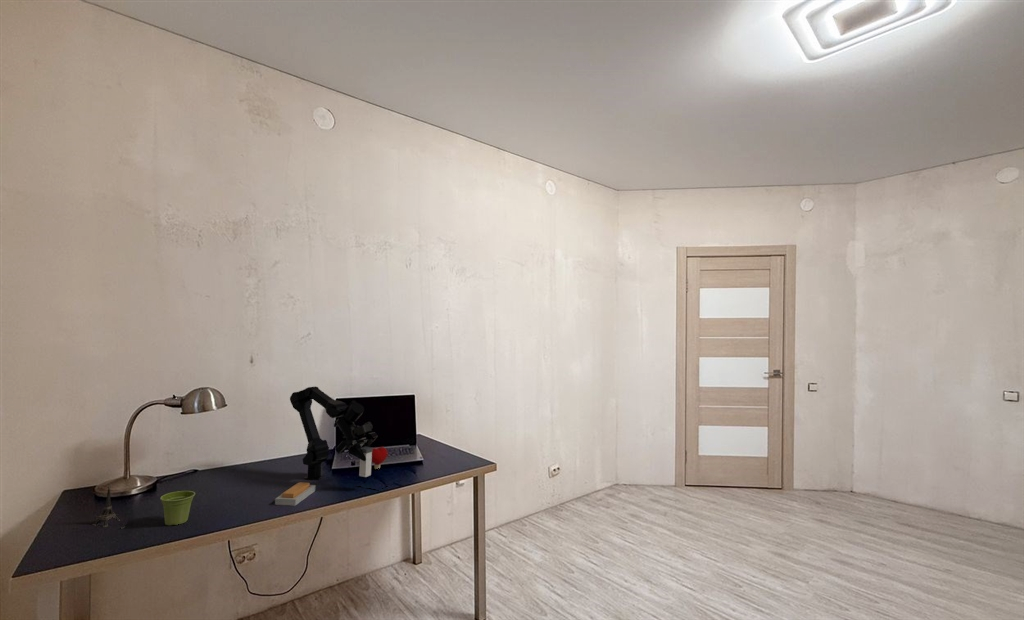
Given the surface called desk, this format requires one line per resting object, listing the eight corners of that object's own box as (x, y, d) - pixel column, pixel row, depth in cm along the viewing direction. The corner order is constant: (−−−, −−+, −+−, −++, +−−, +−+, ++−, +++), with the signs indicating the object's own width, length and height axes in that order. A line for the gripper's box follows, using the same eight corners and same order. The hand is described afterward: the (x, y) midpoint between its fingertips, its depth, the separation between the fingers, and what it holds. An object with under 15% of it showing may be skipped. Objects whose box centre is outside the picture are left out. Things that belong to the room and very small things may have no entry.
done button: (298, 486, 187) (299, 482, 187) (309, 487, 187) (309, 482, 187) (282, 498, 174) (282, 493, 174) (293, 498, 174) (293, 493, 174)
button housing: (296, 489, 189) (296, 484, 189) (315, 490, 188) (315, 485, 188) (274, 504, 173) (275, 498, 173) (295, 505, 172) (295, 499, 172)
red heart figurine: (382, 466, 224) (383, 444, 224) (390, 469, 218) (390, 447, 219) (364, 469, 217) (365, 447, 218) (371, 473, 212) (372, 451, 212)
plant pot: (181, 514, 162) (183, 488, 162) (200, 519, 158) (201, 493, 158) (152, 524, 153) (153, 497, 153) (170, 530, 149) (172, 502, 150)
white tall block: (358, 475, 190) (359, 448, 190) (364, 473, 193) (365, 446, 194) (365, 477, 188) (366, 449, 189) (371, 474, 192) (372, 447, 192)
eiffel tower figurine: (125, 529, 150) (127, 487, 150) (82, 536, 144) (85, 492, 145) (131, 513, 162) (134, 474, 163) (93, 519, 157) (95, 478, 158)
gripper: (343, 420, 185) (364, 452, 180) (375, 412, 202) (395, 442, 197) (327, 437, 188) (347, 470, 183) (360, 429, 205) (379, 458, 200)
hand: (368, 459), depth 190 cm, fingers closed on white tall block, 3 cm apart
